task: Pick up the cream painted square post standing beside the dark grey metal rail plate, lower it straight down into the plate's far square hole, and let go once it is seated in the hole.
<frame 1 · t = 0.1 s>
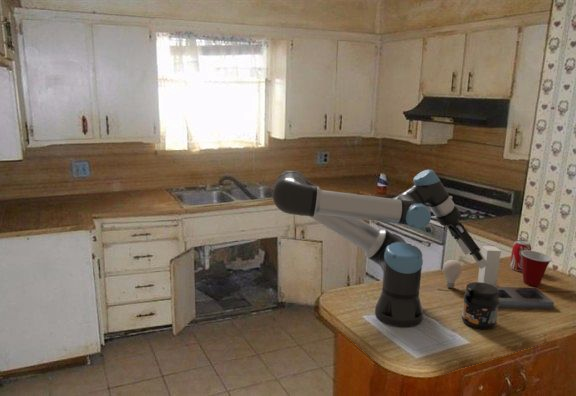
hand: (476, 259, 160), 15 cm above the worktop, tool tilted 35°, fingers open, 13 cm apart
soda can: (518, 269, 194), on the worktop
light bulb: (450, 288, 173), on the worktop
plastic cup: (532, 283, 179), on the worktop
square post: (486, 285, 176), on the worktop
rail plate: (512, 300, 164), on the worktop
supplement container: (478, 323, 147), on the worktop
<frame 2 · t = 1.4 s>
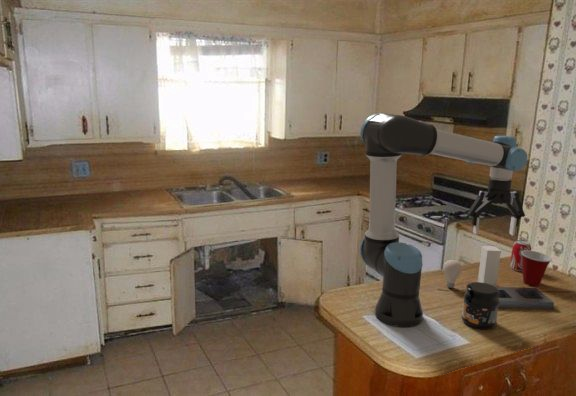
hand: (493, 234, 172), 21 cm above the worktop, tool pointing down, fingers open, 13 cm apart
nothing on the worktop moved.
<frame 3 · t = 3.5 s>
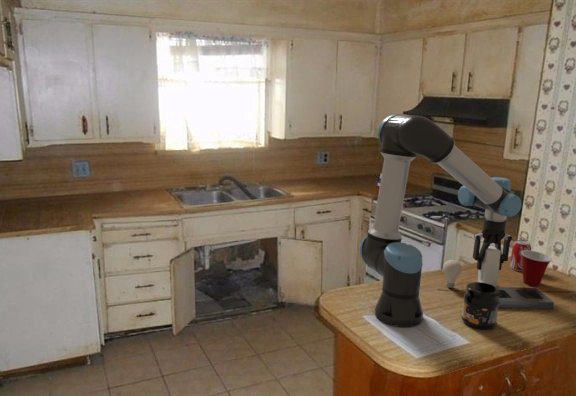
hand: (487, 277, 175), 3 cm above the worktop, tool pointing down, fingers closed on square post, 5 cm apart
square post: (486, 285, 176), on the worktop, touching gripper
everything else where it was.
when the fingers open (4 cm above the worktop, at t = 8.5 s): square post stays where it is, resting in rail plate.
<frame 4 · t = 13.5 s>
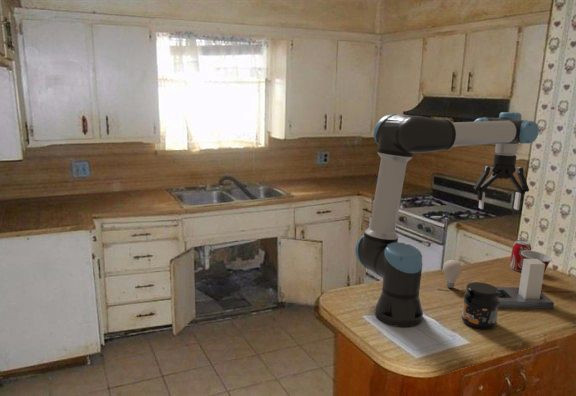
hand: (498, 208, 177), 29 cm above the worktop, tool pointing down, fingers open, 13 cm apart
square post: (528, 301, 164), resting in rail plate
everything else where it was.
at the end: square post 0.0 cm from the target spot on the rail plate, point 0.0 cm above the rail plate's base; square post tilted 0°; the gripper is holding nothing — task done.
